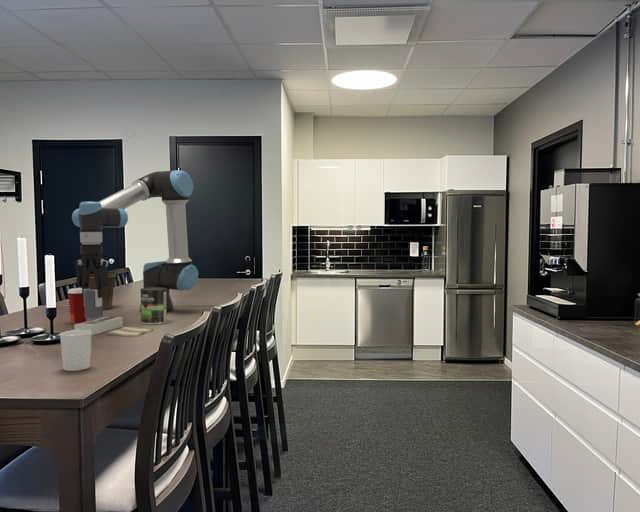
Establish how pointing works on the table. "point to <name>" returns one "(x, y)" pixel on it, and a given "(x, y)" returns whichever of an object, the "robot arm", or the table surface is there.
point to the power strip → (100, 324)
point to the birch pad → (130, 331)
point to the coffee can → (153, 305)
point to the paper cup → (76, 306)
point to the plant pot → (105, 290)
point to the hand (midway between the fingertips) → (93, 306)
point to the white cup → (76, 349)
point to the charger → (91, 305)
